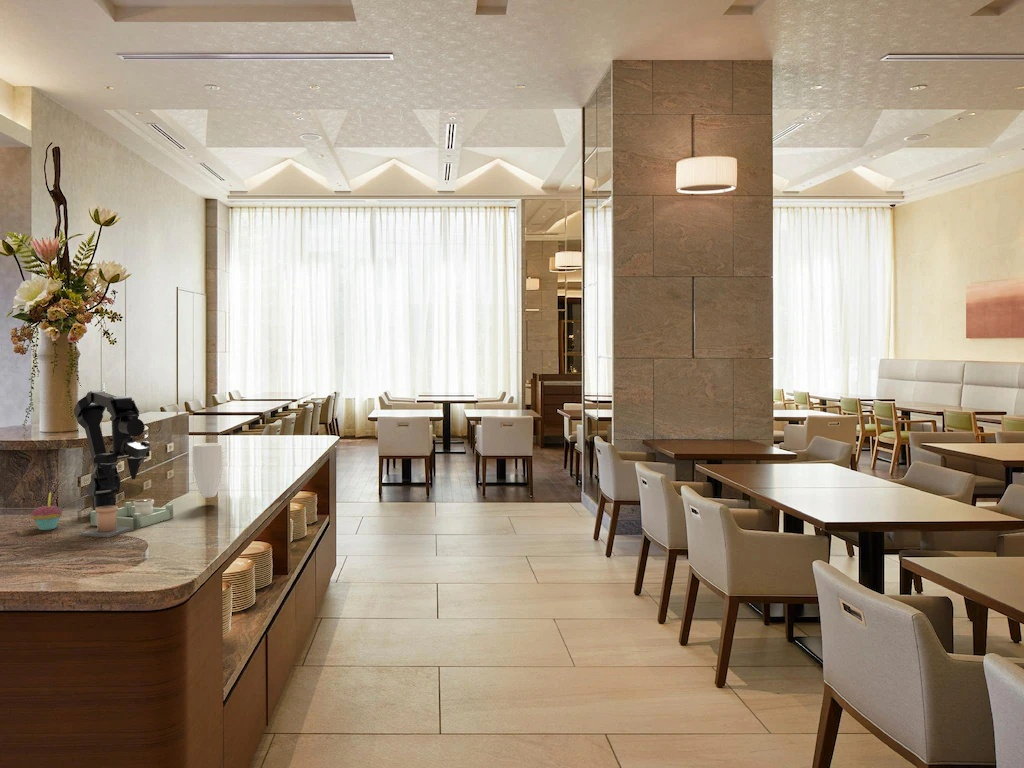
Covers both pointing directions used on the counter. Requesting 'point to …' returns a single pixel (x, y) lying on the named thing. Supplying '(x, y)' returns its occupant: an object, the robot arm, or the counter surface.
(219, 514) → the counter surface
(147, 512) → the pot
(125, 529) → the slate tile
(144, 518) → the cold frame
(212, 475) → the cup
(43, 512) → the cupcake
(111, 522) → the terracotta pot
